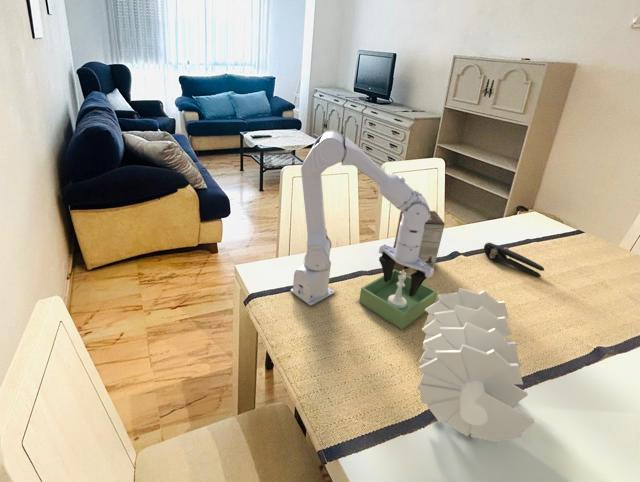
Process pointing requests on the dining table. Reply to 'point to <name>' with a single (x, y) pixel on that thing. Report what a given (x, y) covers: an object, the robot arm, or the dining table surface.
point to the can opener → (500, 254)
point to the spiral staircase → (472, 367)
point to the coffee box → (431, 239)
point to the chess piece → (399, 293)
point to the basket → (380, 290)
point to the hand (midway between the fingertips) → (399, 287)
